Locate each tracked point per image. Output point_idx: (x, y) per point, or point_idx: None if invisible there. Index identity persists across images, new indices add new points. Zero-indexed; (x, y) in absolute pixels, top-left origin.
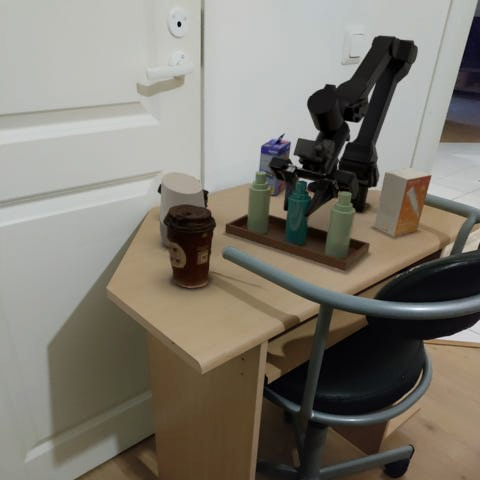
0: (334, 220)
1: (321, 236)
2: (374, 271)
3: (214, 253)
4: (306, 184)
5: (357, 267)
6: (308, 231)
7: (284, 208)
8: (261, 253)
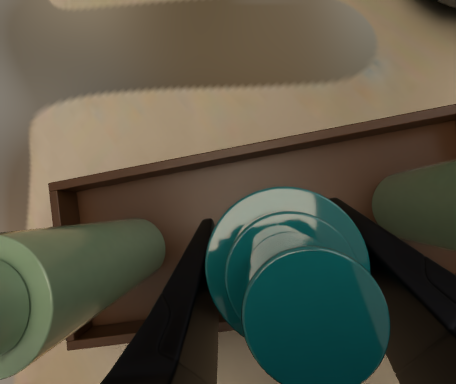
0: (41, 228)
1: None
2: None
3: (365, 5)
4: (241, 320)
5: None
6: None
7: (330, 199)
8: (281, 106)
